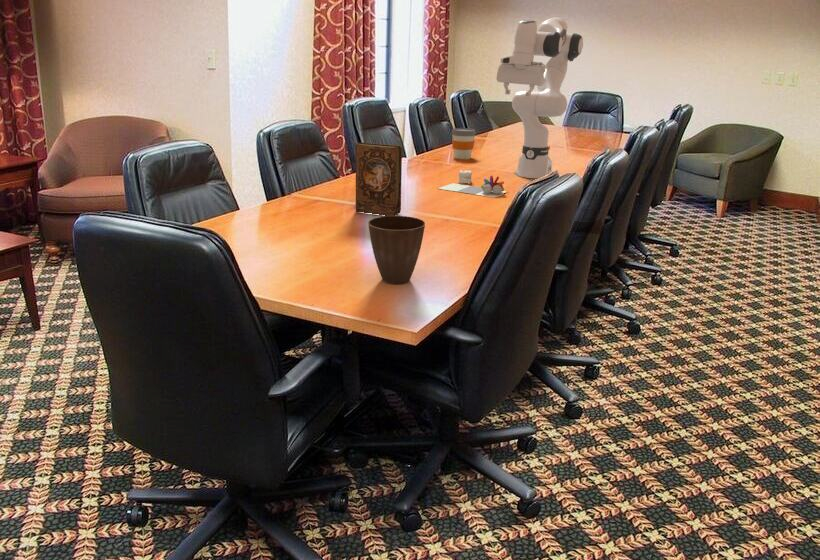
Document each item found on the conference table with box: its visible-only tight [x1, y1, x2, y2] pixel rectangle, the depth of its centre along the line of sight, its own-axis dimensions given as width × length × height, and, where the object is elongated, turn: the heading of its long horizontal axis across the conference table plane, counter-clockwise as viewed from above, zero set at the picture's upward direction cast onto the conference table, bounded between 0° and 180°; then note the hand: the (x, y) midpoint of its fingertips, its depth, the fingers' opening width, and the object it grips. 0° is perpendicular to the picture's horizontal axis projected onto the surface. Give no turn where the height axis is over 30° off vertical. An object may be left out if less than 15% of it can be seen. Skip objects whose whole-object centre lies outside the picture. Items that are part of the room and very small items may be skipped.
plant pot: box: [367, 215, 426, 285], centre depth 185 cm, size 15×15×16 cm
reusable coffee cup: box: [451, 127, 476, 160], centre depth 372 cm, size 13×13×15 cm
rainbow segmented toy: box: [480, 175, 505, 194], centre depth 291 cm, size 8×10×7 cm
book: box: [355, 142, 403, 216], centre depth 251 cm, size 16×6×25 cm, turn 71°
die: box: [458, 170, 473, 185], centre depth 311 cm, size 5×5×5 cm
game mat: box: [437, 182, 507, 198], centre depth 297 cm, size 14×27×1 cm, turn 59°
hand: (517, 95), depth 292 cm, fingers open, 8 cm apart
